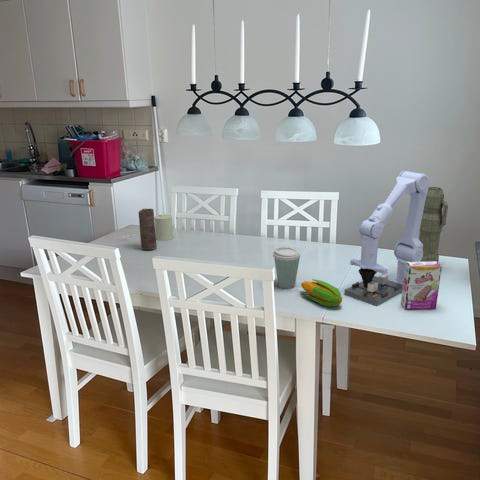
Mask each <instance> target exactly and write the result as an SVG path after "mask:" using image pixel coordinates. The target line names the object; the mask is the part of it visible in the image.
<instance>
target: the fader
mask: <svg viewBox="0 0 480 480" xmlns="http://www.w3.org/2000/svg"><path fill="white" fill-rule="evenodd" d="M378 277H379V278H378V283H379V284H382V285H384V284H386V283H388V280H389V275H387V274H381V275H379V276H378Z"/></svg>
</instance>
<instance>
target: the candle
mask: <svg viewBox="0 0 480 480" xmlns="http://www.w3.org/2000/svg"><path fill="white" fill-rule="evenodd" d="M154 211H155V210H154V208H142V209H141V210H139V211H138V222H139V233H140V234H139V235H140V248H141V249H144V250H156V249H157V239H156V232H155V219H154V217H155V213H154Z"/></svg>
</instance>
